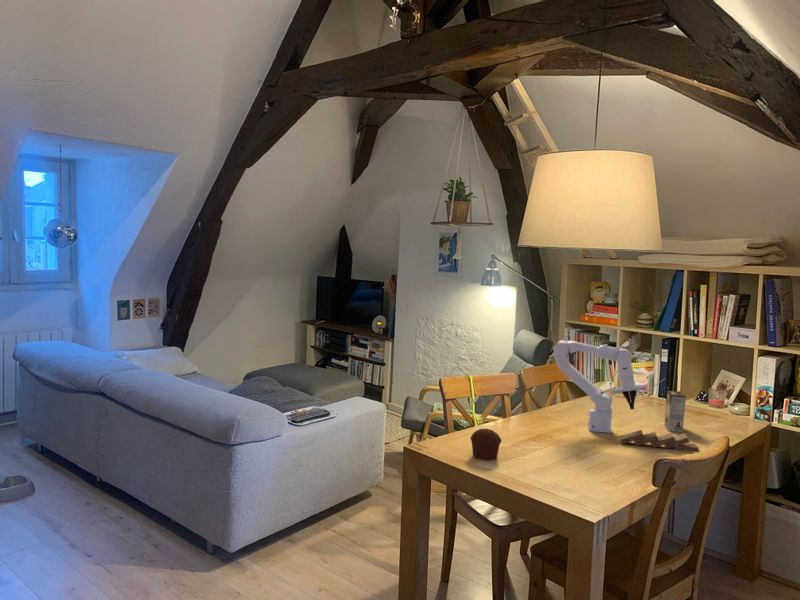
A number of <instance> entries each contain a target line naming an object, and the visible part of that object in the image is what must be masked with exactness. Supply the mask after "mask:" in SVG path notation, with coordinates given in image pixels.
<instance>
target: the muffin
mask: <svg viewBox="0 0 800 600" xmlns="http://www.w3.org/2000/svg"><path fill="white" fill-rule="evenodd" d="M470 441H471V446H472V447H471V448H472V449H471V450H472V456H473V457H474V458H475V459H477V460H481V461H495V460H497V458H498V454H499V450H500V445H501V443H502V438H501V437H500V435H499V434H498V433H497V432H495V431H494V430H492V429H489V428H479V429H477V430H475V431H474V432H473V433H472V434H471V436H470Z"/></svg>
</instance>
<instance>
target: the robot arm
mask: <svg viewBox="0 0 800 600" xmlns="http://www.w3.org/2000/svg"><path fill="white" fill-rule="evenodd" d="M575 352H582V353H587V354H593V355H596V356H597V357H598V358H599V359H601V360H602V359H603V360H608V361H613V362H615V361H616V362H617V370H618V376H619V382H620V387H616V388H611V389H610V393H611V394H609V393H608V392H604V391H603V390H602V389H601V388H599V387H597V386H596V385H595V384H593V382H592V381H590V380H589V379H588V378H587V377H586V376H585V375H583V374H582V373H581V372H580V371H579V370H578V369H576V367H575V366H573V365H572V364H571V363H570V354H573V353H575ZM553 356H554V359H555V363H556V367H557V368H558V369H559V370H560V371H561V372H562V373H563V374H564V375H565V376H566V377H568V378H569V380H571V381H572V382H573V383H574V384H575V385H576V386H577V387H578V388H579V389H581V390H582V391H583V392H584V394H586V395H587V396H588V397H589V398H590V400H591V401H592V402H593V403H594V405H595V406H594V408H590V409H589V411H588V418H587V419H588V420H587V428H588V430H589V432H596V433H604V434H605V433H607V434H608V433H609V434H613V433H614V432H613V430H612V418H613V416H612V415H613V409H612V408H611V407H612V402H613V399H612V396H611V395H615V394H622V395H623V396H624V398H625V400H626V401H627V403H628V406H629V408H630V410H635V401H636V400H635V399H636V397H637V392H639V391H647V390H648V387H647V386H648V385H647V384H636V382H635V376H634V370H633V366H632V361H631V352H630V350H628V349H627V348H624V347H620V346H617V347H614V346H610V345H608V344H607V343H604V344H600V345H599V346H596V345H592V344H588V343H587V344H586V343H584V342H580V341H579V342H578V341H575V340H567V339H561V340H559V341H558V342H557V343H556V344H555V345H554V347H553Z"/></svg>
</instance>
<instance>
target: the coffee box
mask: <svg viewBox="0 0 800 600" xmlns="http://www.w3.org/2000/svg"><path fill="white" fill-rule="evenodd" d="M686 399H687V396H686V395H685V394H684V392H682V391H679V390H678V391H677V390H666V398H665V409H664V410H665V411H664V412H665V413H664V421H663V422H664V424H663V425H664V427H665V428H666V430H667V431H669V432H676V431H678V432H679V433H683V432H684V431H683V429H684V420H685V412H686V411H685V409H686Z"/></svg>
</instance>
